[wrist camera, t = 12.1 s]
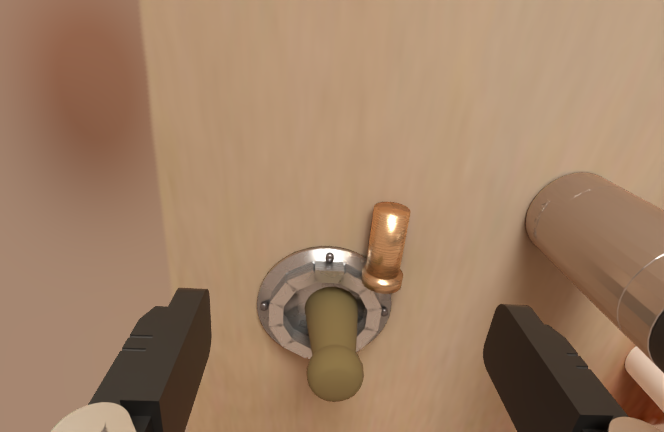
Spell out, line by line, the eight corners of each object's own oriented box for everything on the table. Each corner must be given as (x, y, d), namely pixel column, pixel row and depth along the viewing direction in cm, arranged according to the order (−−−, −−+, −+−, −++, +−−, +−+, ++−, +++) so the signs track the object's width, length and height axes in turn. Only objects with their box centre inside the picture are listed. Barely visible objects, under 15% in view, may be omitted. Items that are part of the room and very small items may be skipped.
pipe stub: (368, 200, 40) (374, 218, 37) (409, 203, 41) (419, 221, 37) (359, 269, 44) (363, 292, 40) (397, 271, 44) (404, 294, 40)
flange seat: (400, 250, 43) (404, 262, 41) (380, 356, 49) (383, 371, 47) (258, 242, 42) (255, 254, 40) (257, 351, 48) (254, 366, 46)
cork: (334, 338, 47) (339, 421, 37) (293, 311, 45) (287, 392, 35) (369, 305, 45) (384, 384, 35) (328, 277, 43) (332, 351, 33)
